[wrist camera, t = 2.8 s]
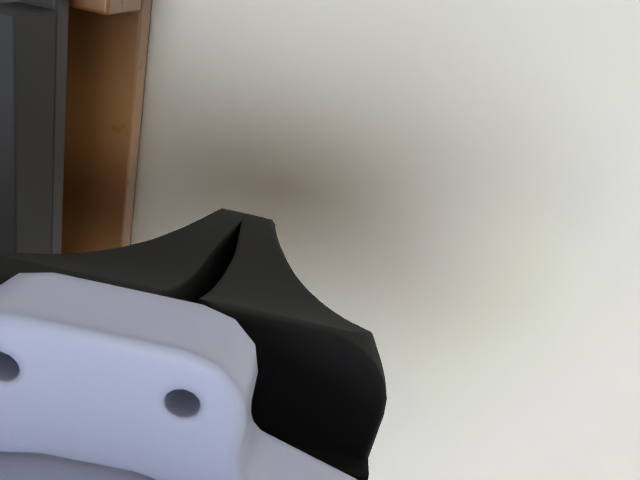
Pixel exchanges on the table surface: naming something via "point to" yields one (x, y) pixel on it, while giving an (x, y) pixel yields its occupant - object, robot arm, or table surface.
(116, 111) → the brown wooden shelf
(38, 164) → the lid
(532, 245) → the table surface
